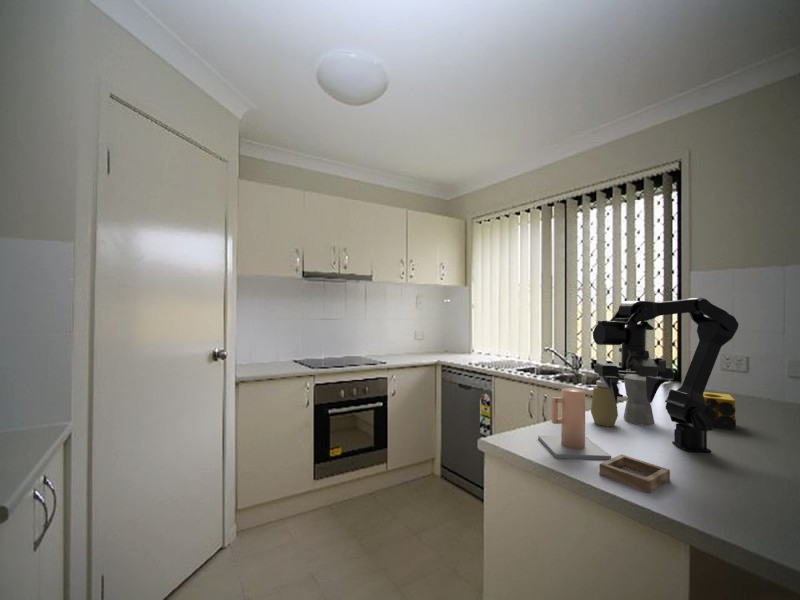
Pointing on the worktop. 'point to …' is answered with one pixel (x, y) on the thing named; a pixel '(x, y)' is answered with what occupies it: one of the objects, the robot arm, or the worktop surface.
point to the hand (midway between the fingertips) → (632, 401)
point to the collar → (648, 484)
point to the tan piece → (570, 417)
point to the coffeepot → (636, 400)
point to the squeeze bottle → (603, 405)
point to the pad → (564, 452)
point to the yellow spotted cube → (720, 410)
